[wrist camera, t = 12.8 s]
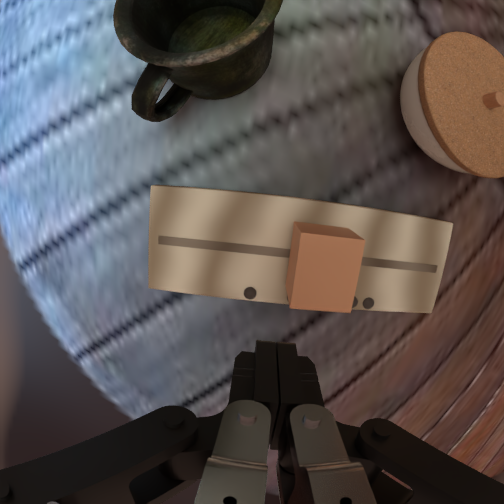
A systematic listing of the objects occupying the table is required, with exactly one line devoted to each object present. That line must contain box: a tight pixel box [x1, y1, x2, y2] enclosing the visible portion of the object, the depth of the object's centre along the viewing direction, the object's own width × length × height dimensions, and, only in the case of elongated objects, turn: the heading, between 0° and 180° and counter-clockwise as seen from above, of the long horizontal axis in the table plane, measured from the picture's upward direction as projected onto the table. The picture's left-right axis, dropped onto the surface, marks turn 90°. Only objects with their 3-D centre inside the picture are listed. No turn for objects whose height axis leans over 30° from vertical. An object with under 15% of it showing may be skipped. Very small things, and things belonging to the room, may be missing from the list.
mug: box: [113, 0, 283, 122], centre depth 20 cm, size 11×15×12 cm
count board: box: [149, 185, 453, 313], centre depth 29 cm, size 30×10×2 cm, turn 84°
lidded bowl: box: [400, 32, 504, 178], centre depth 20 cm, size 13×13×11 cm
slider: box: [285, 221, 365, 313], centre depth 26 cm, size 5×6×5 cm
